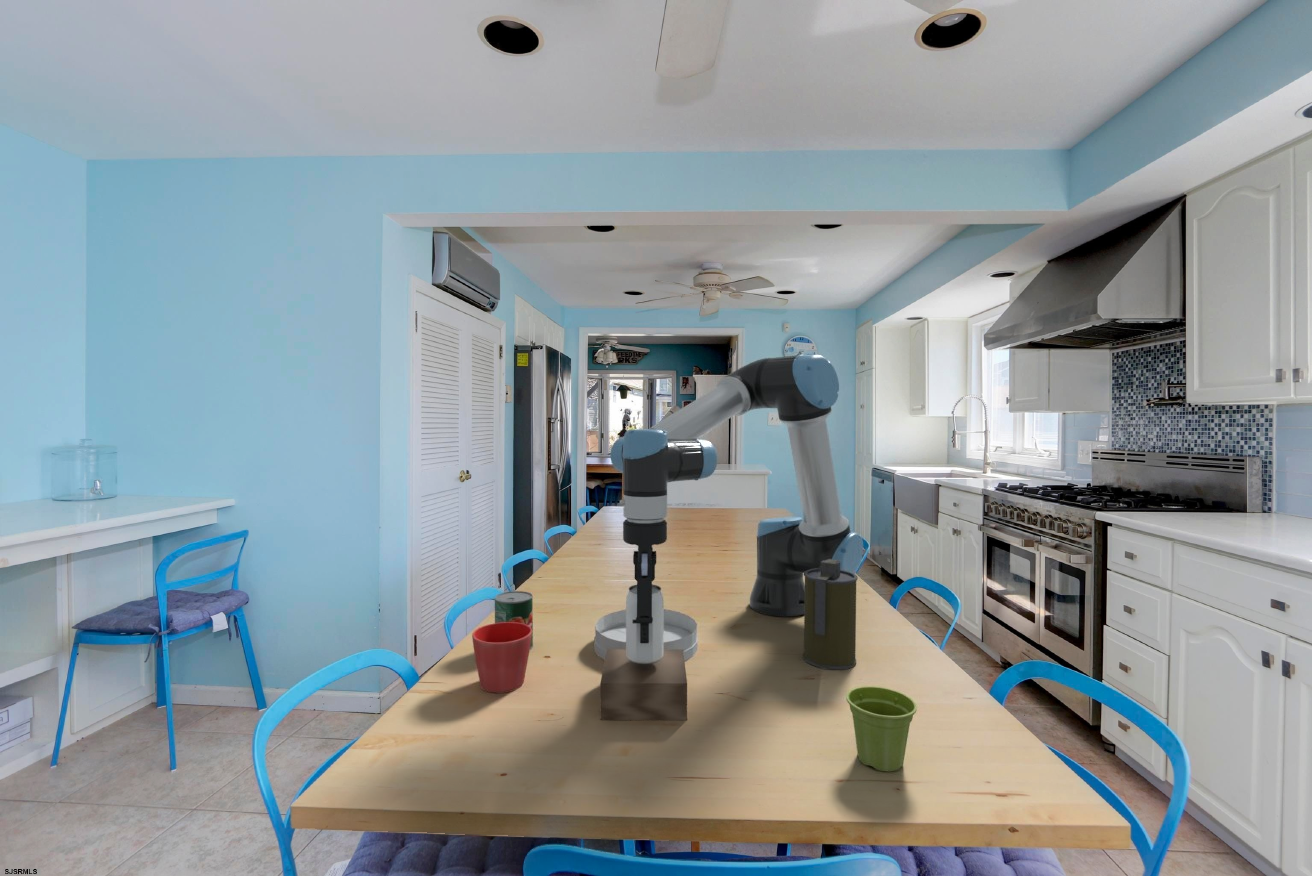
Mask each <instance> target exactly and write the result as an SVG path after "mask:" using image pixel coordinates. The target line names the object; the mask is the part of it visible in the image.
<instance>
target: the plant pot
mask: <svg viewBox="0 0 1312 876" xmlns="http://www.w3.org/2000/svg"><path fill="white" fill-rule="evenodd" d="M845 697H846V702H847V703H848V705H849V710H850V712H851V713H852V721H853V727H854V735H855V743H856V744H855V745H856V751H857V758H858V759H859V761H860V762H861V763H863V764H864V765H865V766H867V767H868V766H871V767H873V768H874V769H876V770H877V771H882V772H894V771H895V772H896V771H898V770H900V769H901V767H902V766H903V765H904V764H905V763H904V761H905V755H906V748H907V745H908V744H907V742H908V737H909V732H910V724H911V723H912V721H913V718H914V715H915V714H916V713H917V711H918V710H917V709H918V705H917V703H916V702H915V701H914V699H912V697H910V696H908V695H907V694H905V693H903V692H900V691H897V690H895V689H891V688H887V687H884V686H883V687H881V686H874V685H872V686H871V685H870V686H869V685H868V686H867V685H865V686H863V685H862V686H858V687H857V686H856V687H855V688H852V689H849V690H848V691H847V693H846V696H845Z"/></svg>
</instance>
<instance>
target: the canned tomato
mask: <svg viewBox="0 0 1312 876" xmlns="http://www.w3.org/2000/svg"><path fill="white" fill-rule="evenodd" d="M533 597H534V596H533V593H531V592H529V591H524V590H523V591H522V590H513V591H505V592H500V593H499V594H497V595H494V623H500V622H517V623H523V624H526V625H528V626H530V627H531V629H532V638H531V645H530V650H532V649H533V647H534V644H533V643H534V639H533V638H534V636H533V635H534V634H533V632H534V631H533V630H534V629H533V626H534V622H533V619H534V618H533V616H534V613H533V612H534V610H533V608H534V607H533V606H534V605H533V604H534V603H533V602H534V601H533ZM530 650H529V651H530Z"/></svg>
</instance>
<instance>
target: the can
mask: <svg viewBox="0 0 1312 876" xmlns="http://www.w3.org/2000/svg"><path fill="white" fill-rule="evenodd" d="M664 603H665V601H664V596H663V593H662V587H661V586H660V585H656V584H652V618H653V661H636V623H633V620H636V618H637V584H633V585H631V586H629V587H628V593H627V594H626V600H625V610H626V656H627V658H628V659H629V660H630V661H631V662H634V663H638V664H651V663H655V662H658V661H659V660H661V658H662V657H663V643H664Z"/></svg>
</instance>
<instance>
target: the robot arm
mask: <svg viewBox="0 0 1312 876" xmlns="http://www.w3.org/2000/svg"><path fill="white" fill-rule="evenodd" d="M839 381H840V380H839V376H838V373H837V370H836V369H835V366H834V365H833V364H832V363H831V361H830V360H828V359H827V358H826V357H824V356H822V355H820V354H798V355H797V354H796V355H787V356H779V357H777V356H776V357H768V358H767V357H765V358H760V359H758V360H754V361H752V362H749V363H748V364H746V365H743V366H741V367H740V368H737V369H735V371H733V372H731V373H729V374H727V375H726V376H724V377H722V378H721V379H720V380H719V381H718V382H717V383H716V384H717V385H716V387H715V388H713V389H711V390H709V391H708V392H705V394H703V395H702V396H700V397H698V398H696V399H695V400H694V401H692V402H690V403H688V404H687V405H685V406H683V407H682V408H680V409H678V410H677V411H676V412H674V413H672V414H671V415H669V416H667V417H666V418H664V419H662V420H661V421H660V422H657V423H656V424H654V425H653V426H651V427H649V428H647V429H645V428H643V429H641V428H638V429H637V428H636V429H635V428H633V429H631V428H630V429H629V430H627V431H626V432H625V433H624V434H623V435H624V436H622V437H619V438H617V439H616V440H615V441H614V443H613V444H612V446H611V448H610V455H609V456H610V461H611V464H612V466H613V468H614V469H615V470H616V471H617V472H620V473H621V474H622V483H623V484H622V485H623V487H622V490H623V493H622V494H623V499H620V500H619V505H620V506H623V508H622V509H623V512H622V513H623V514H622V515H623V517H624V518H625V519H624V520H623V523H622V540H623V541H624V543H626V544H628V545H631V546H634V545H636V546H637V550H634V551H633V556H632V558H633V559H632V560H633V562H632V563H633V566H634V580H635V581H636V585H637V618H636V620H633V623H636V661H653V618H652V585H653V582H654V581H655V580H656V565H657V551H656V550H654V548H653V546H654V545H656V546H658V545H662V544H665V543H666V542H667V540H668V529H667V528H668V522H667V521H666V520H665V519H666V518H667V517H668V483H672V482H683V481H685V482H686V481H699V480H701V479H705V478H708V477H710V476H712V474H714V472H715V471H716V469H717V465H718V453H717V450H716V448H715V446H714V445H713V444H712V443H711V442H710V441H709V440H707V439H704V438H702V437H704V436H706V435H707V434H708V433H710V432H711V431H713V430H714V429H716V428H717V427H719V426H721V425H722V424H723V423H725V422H726V421H728V420H729V419H731V418H732V417H734V416H735V417H736V416H738V417H739V416H742V415H744V414H746V413H747V412H749V411H753V410H758V409H759V410H760V409H777V414H778V419H779V422H782V423H783V424H785V425H786V427H787V431H788V438H789V444H790V449H791V454H792V460H793V465H794V472H795V477H796V482H797V483H796V484H797V489H798V494H799V500H800V505H801V506H800V507H801V510H802V517H800V516H784V517H783V516H782V517H772V518H766V519H763V520H760V521H759V522H758V525H757V532H756V533H757V534H756V579H755V581H754V583H753V587H752V588H751V589H752V590H751V593H750V595H749V607H750V609H752V610H753V611H755V612H757V613H759V614H760V613H761V614H763V615H766V616H767V615H768V616H772V617H797V616H802V615H803V616H804V605H805V580H804V572H805V571H807V570H809V569H815V568H818V567H820V564H821V561H825V560H828V559H833V560H839V561H840V570H845V571H848V572H851V573H854V574H855V575H856V573H857V571H858V569H859V567H860V565H861V562H862V559H863V553H864V542H863V538H862V536H861V535H860V534H859V533H857V532H855V531H851V526H850V521H849V519H848V518H847V517H845V515H843V514H842V512H841V507H840V499H839V494H838V488H837V482H836V476H835V468H834V462H833V457H832V450H831V443H830V438H829V431H828V426H827V425H828V424H827V418H828V417H829V415H830V414H832V406H834V405H835V403H836V402H837V401H838V397H839V393H838V392H839V390H840V383H839Z"/></svg>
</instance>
